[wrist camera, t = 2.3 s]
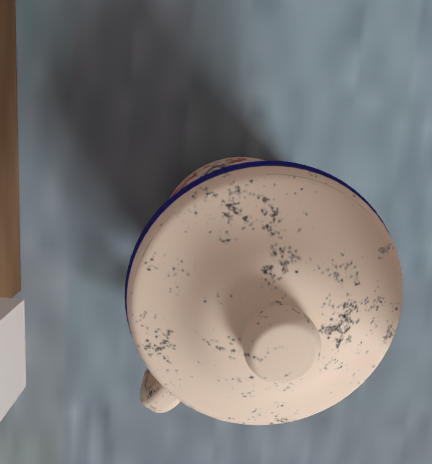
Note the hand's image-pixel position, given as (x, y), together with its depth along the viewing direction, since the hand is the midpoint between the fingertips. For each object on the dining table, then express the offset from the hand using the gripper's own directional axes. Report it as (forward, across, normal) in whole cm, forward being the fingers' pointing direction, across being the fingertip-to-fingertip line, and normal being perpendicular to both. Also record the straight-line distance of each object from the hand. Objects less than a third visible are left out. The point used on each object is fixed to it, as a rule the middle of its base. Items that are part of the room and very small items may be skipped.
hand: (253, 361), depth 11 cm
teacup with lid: (+10, 0, 0) cm, 11 cm away
